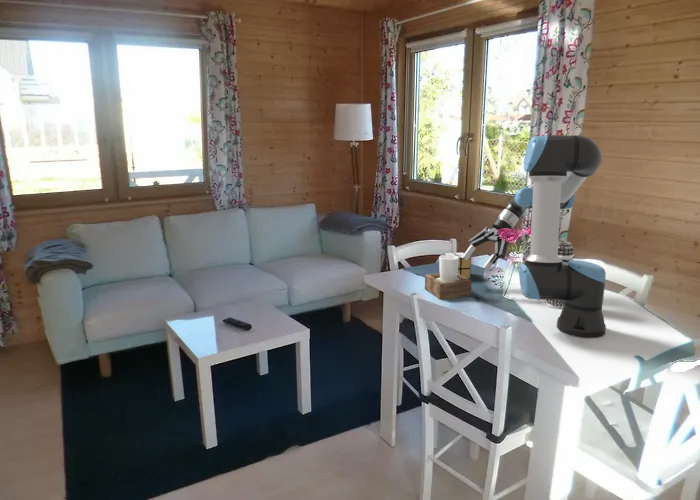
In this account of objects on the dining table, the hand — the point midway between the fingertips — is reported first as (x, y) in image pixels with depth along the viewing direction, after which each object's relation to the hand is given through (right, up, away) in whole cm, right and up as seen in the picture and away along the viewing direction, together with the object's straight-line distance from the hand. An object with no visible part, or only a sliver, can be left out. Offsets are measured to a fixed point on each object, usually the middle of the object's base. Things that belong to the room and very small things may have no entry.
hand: (474, 263), depth 215 cm
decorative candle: (+28, -16, -15) cm, 36 cm away
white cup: (-11, -7, -1) cm, 13 cm away
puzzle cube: (-3, -7, +23) cm, 24 cm away
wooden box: (-11, -12, 0) cm, 17 cm away
